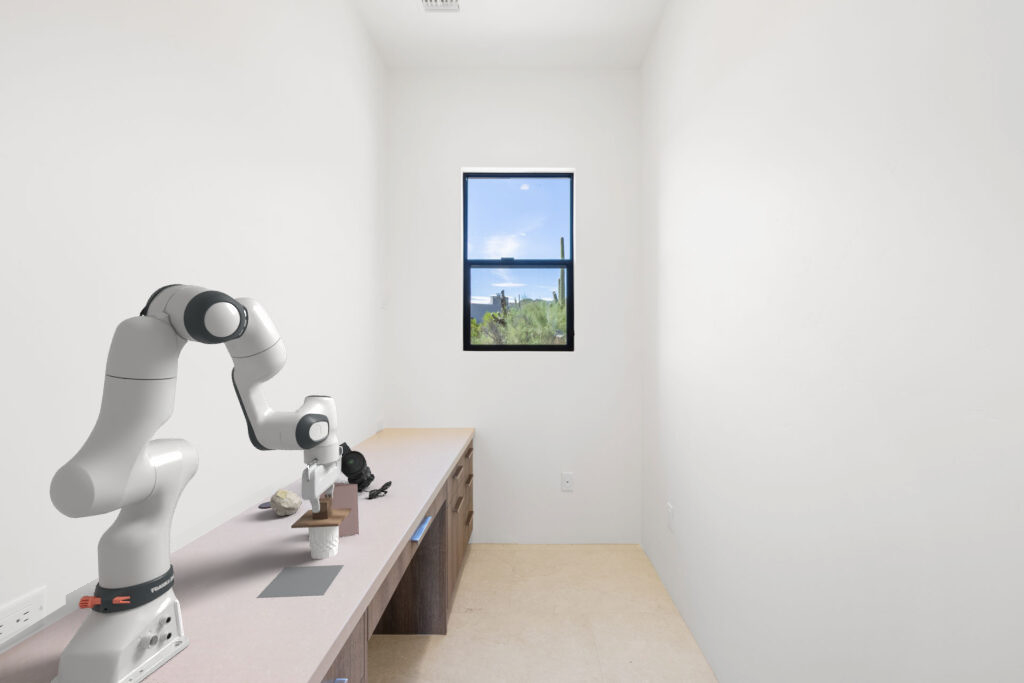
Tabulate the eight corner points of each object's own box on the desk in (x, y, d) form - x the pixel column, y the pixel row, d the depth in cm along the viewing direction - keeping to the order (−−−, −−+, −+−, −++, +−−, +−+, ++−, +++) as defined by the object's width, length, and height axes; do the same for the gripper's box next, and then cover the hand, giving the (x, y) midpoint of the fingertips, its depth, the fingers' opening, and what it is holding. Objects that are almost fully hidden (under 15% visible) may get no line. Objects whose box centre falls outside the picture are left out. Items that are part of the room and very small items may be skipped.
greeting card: (360, 533, 151) (359, 483, 151) (346, 543, 144) (344, 490, 144) (327, 530, 154) (326, 481, 154) (311, 539, 147) (310, 488, 147)
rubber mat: (323, 597, 114) (323, 595, 114) (256, 599, 114) (256, 597, 114) (344, 566, 129) (343, 564, 129) (284, 569, 129) (284, 567, 129)
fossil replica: (296, 506, 179) (266, 515, 172) (293, 483, 178) (263, 491, 172) (308, 511, 169) (277, 522, 163) (305, 487, 169) (273, 496, 163)
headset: (367, 519, 187) (342, 469, 207) (400, 498, 192) (372, 451, 212) (350, 491, 176) (325, 441, 196) (386, 470, 181) (357, 423, 201)
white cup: (329, 562, 132) (328, 524, 132) (302, 561, 133) (301, 523, 133) (345, 550, 139) (344, 514, 139) (319, 548, 141) (318, 512, 141)
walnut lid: (338, 526, 130) (337, 506, 130) (291, 528, 130) (290, 508, 130) (351, 510, 142) (350, 492, 142) (308, 512, 142) (308, 494, 142)
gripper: (319, 463, 126) (321, 519, 126) (344, 446, 146) (346, 493, 146) (293, 464, 126) (295, 520, 126) (322, 446, 146) (324, 494, 146)
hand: (323, 505), depth 136 cm, fingers open, 8 cm apart
